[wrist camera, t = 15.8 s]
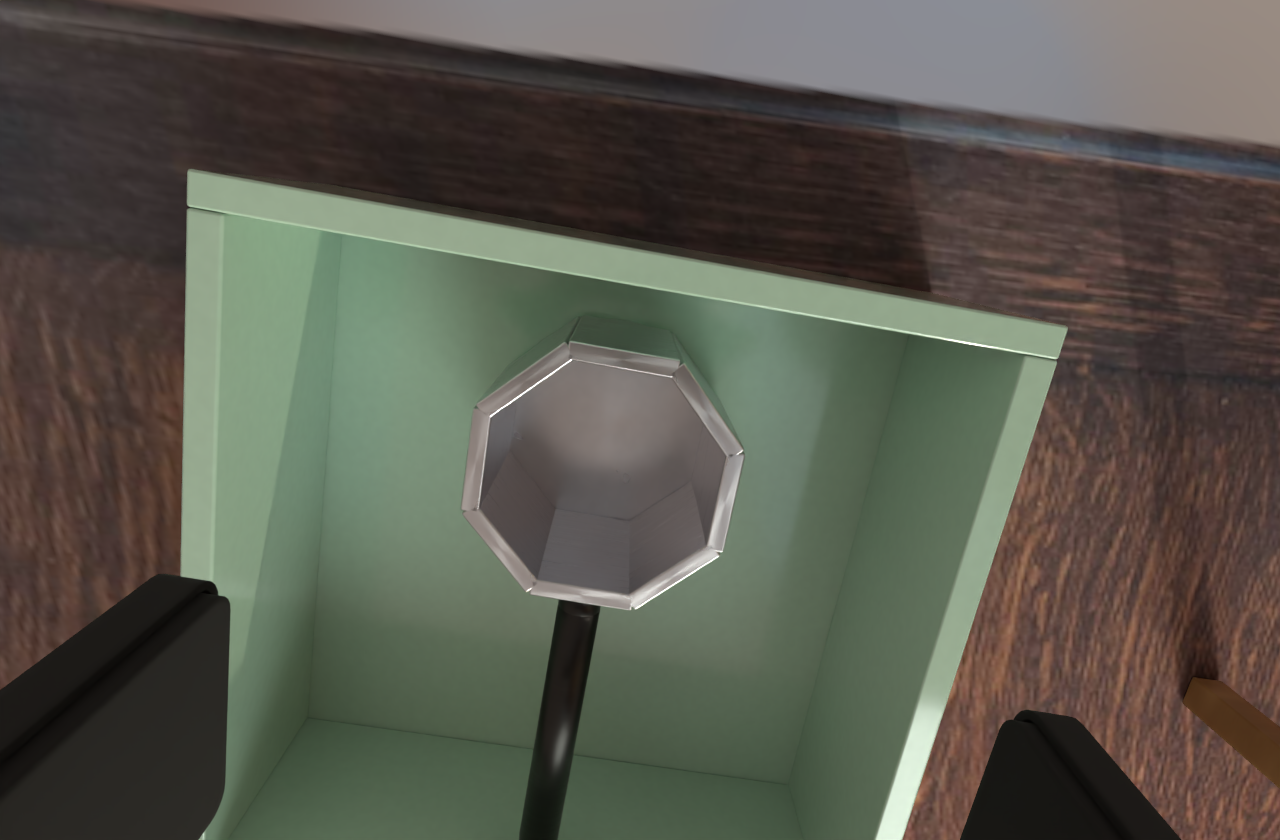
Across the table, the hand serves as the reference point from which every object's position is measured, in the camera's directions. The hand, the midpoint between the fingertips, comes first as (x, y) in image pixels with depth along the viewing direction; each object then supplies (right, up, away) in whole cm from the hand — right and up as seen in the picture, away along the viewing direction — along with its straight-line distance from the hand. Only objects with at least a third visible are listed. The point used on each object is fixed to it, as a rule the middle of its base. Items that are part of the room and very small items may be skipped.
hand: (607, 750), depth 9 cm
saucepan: (-1, 0, +17) cm, 17 cm away
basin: (-1, 0, +17) cm, 17 cm away
